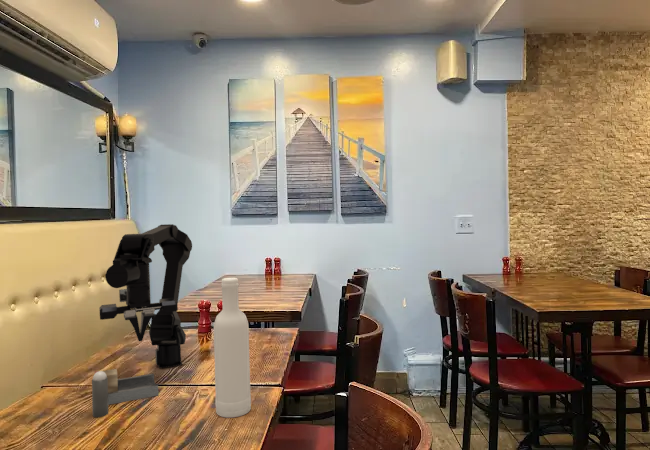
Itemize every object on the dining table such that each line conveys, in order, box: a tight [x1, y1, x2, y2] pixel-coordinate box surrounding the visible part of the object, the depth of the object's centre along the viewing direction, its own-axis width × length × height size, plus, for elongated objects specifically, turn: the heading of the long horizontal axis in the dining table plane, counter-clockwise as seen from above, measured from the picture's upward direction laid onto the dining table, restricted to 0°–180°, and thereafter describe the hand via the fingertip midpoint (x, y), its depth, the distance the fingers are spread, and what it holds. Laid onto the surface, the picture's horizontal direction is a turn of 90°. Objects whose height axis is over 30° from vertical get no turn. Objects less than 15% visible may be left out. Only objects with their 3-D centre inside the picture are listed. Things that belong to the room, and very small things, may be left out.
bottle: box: [213, 277, 252, 418], centre depth 105 cm, size 8×8×30 cm
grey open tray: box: [94, 370, 159, 406], centre depth 117 cm, size 14×10×6 cm
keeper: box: [102, 368, 119, 393], centre depth 115 cm, size 4×4×5 cm
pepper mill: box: [91, 370, 109, 418], centre depth 105 cm, size 3×3×10 cm
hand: (140, 340), depth 123 cm, fingers closed
